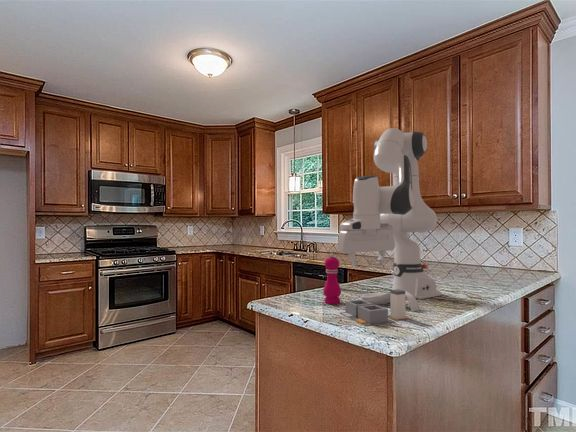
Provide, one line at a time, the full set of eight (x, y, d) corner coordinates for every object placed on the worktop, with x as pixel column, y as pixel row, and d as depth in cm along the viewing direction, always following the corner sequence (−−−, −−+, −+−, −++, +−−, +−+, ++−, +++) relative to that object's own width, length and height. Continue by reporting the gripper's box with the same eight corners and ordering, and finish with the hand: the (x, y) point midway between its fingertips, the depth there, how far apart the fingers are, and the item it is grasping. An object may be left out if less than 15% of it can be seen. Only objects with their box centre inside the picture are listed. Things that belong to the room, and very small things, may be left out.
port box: (366, 312, 127) (365, 298, 127) (394, 324, 112) (394, 308, 112) (339, 315, 123) (339, 301, 123) (365, 328, 108) (365, 312, 108)
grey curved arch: (355, 304, 142) (355, 286, 142) (374, 299, 149) (373, 282, 149) (407, 316, 123) (407, 295, 123) (426, 310, 130) (425, 291, 131)
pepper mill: (340, 304, 139) (340, 254, 140) (322, 304, 141) (322, 254, 141) (341, 300, 146) (341, 252, 147) (324, 300, 148) (323, 252, 148)
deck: (399, 316, 122) (399, 313, 122) (413, 321, 116) (413, 319, 116) (382, 318, 120) (382, 315, 120) (396, 323, 113) (396, 321, 113)
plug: (398, 315, 120) (398, 289, 120) (405, 318, 117) (405, 291, 117) (390, 316, 119) (390, 289, 119) (397, 319, 115) (396, 291, 115)
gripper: (387, 223, 124) (387, 262, 124) (335, 224, 117) (336, 266, 117) (398, 223, 118) (399, 264, 118) (344, 224, 111) (345, 268, 111)
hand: (367, 265), depth 117 cm, fingers open, 8 cm apart
